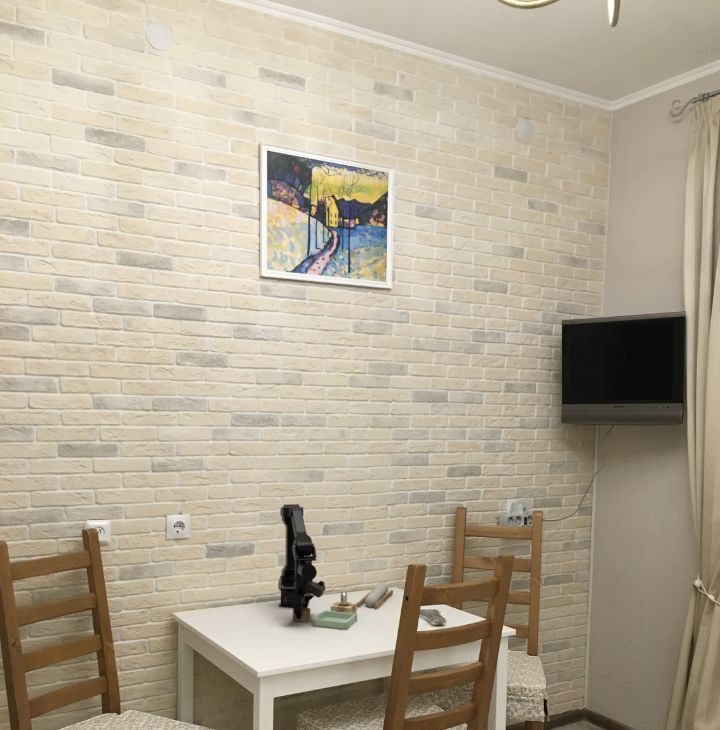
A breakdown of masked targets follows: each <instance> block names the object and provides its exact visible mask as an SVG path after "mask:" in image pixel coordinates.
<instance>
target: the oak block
mask: <svg viewBox="0 0 720 730" xmlns="http://www.w3.org/2000/svg"><path fill="white" fill-rule="evenodd" d="M330 611H335V612H344V613H354V614H357V613H358V612H357V611H358V608H357V602H348V601H347V606H341V601H340V600H338V601H335V603H333V604H331V605H330ZM356 612H357V613H356Z"/></svg>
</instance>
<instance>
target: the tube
mask: <svg viewBox="0 0 720 730" xmlns="http://www.w3.org/2000/svg"><path fill="white" fill-rule="evenodd" d="M373 589H374V590H373ZM373 589H372V590H373V591H372V590H371V591H372V592H371V591H370V592H371V593H370V592H369V593H370V594H369V595H368V596H367V598H366V599H365V603H364V605H365V606H366V607H368V608H372V607H373V608H374V605H375V604H376V603H377V602H378V601H379V600H380V599H381V598H382V597H384V596H385V595H386V594H387V593H388V592H389V585H388V584H387V583H386V582H383V581H379V582H378V583H377V584H376V586H375V588H373Z"/></svg>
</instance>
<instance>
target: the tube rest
mask: <svg viewBox="0 0 720 730" xmlns="http://www.w3.org/2000/svg"><path fill="white" fill-rule="evenodd" d="M374 589H375V588H373V589H372V590H370V591H369V592H368V593H367V594H366V595H365V596H364V597H362V598H360V600H359V601H357V602H356V603H357V607H359V608H361V607H362V606H363V605H365V599H366V598H367V596H368V595H369V594H370V593H371V592H372V591H373V590H374ZM392 594H393V595H394V590H393V589H390V590H388V592H387V593H386V594H384V596H383V597H382V598H381V599H380V600H379V601H378V602H377V603H376V604H375V605H374V607H373V608H374V610H376V609H377V608H378V607H379V606H380V605H381V604H382V603H383V602H384V603H386V602H387V601H388V600H389V599H390V598H391V597H392V596H393V595H392ZM391 595H392V596H391ZM390 596H391V597H390ZM389 597H390V598H389ZM388 598H389V599H388ZM387 599H388V600H387ZM386 600H387V601H386ZM384 603H383V604H384ZM362 604H363V605H362ZM383 604H382V605H383ZM361 605H362V606H361ZM382 605H381V606H382ZM360 606H361V607H360ZM381 606H380V607H381ZM380 607H379V608H380ZM379 608H378V609H379ZM378 609H377V610H378Z"/></svg>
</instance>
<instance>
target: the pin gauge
mask: <svg viewBox="0 0 720 730" xmlns="http://www.w3.org/2000/svg"><path fill="white" fill-rule="evenodd" d="M340 602H341V606H347V602H348V592H345V591H342V592H340Z"/></svg>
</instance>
